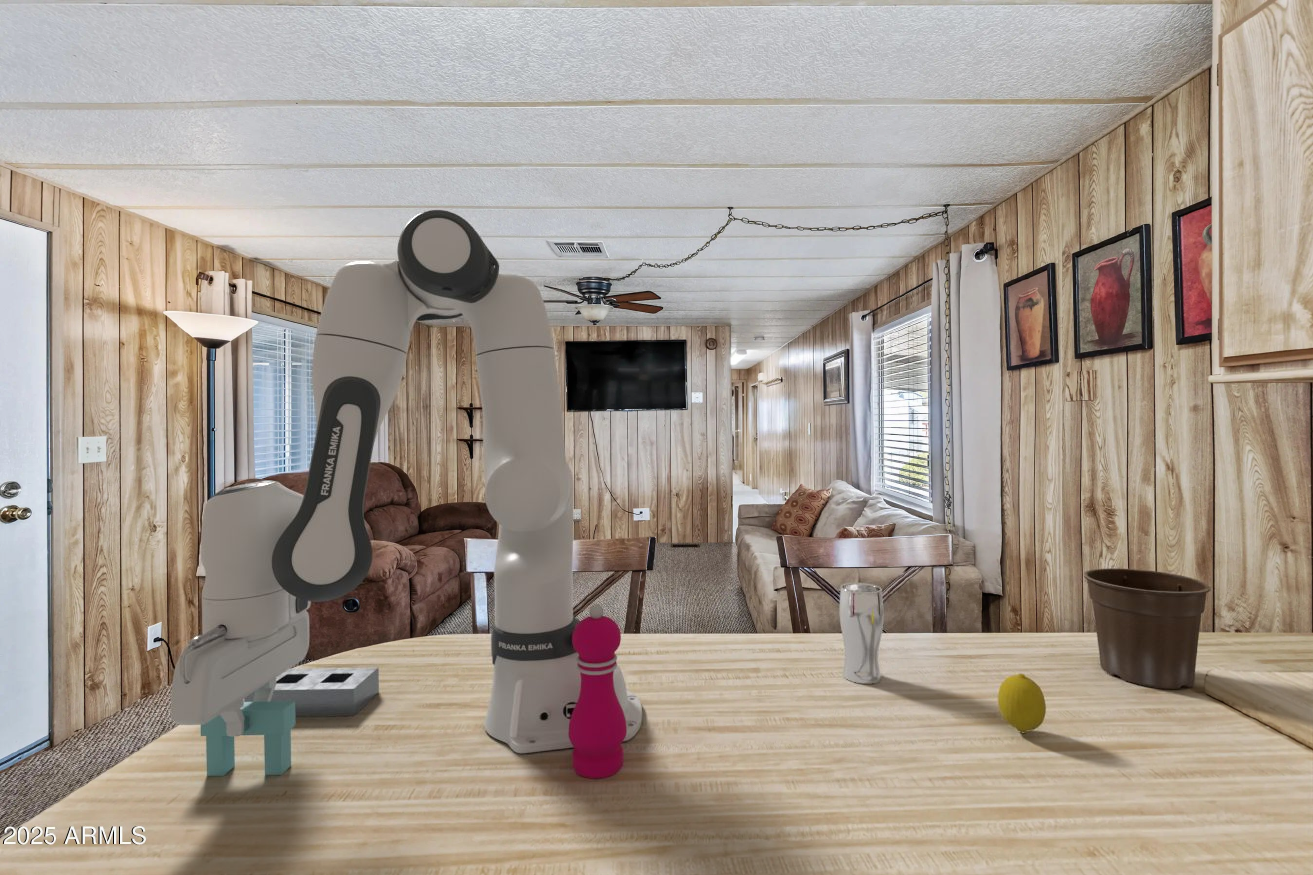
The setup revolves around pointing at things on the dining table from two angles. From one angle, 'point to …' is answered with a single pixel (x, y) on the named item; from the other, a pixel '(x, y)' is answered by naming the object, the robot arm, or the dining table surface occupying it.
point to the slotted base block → (326, 690)
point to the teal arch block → (262, 721)
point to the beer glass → (861, 631)
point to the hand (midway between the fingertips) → (249, 725)
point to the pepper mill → (597, 699)
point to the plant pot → (1147, 624)
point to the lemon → (1021, 702)
